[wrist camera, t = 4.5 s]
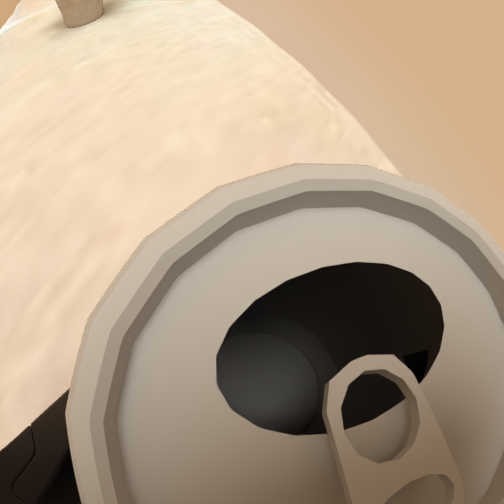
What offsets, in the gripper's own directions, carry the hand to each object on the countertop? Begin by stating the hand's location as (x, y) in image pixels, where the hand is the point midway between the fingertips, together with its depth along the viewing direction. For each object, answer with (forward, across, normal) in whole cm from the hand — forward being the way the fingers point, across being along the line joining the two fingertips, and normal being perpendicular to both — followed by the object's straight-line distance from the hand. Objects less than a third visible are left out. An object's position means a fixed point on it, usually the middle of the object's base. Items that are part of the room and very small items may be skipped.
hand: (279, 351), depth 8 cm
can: (+4, 0, +6) cm, 7 cm away
